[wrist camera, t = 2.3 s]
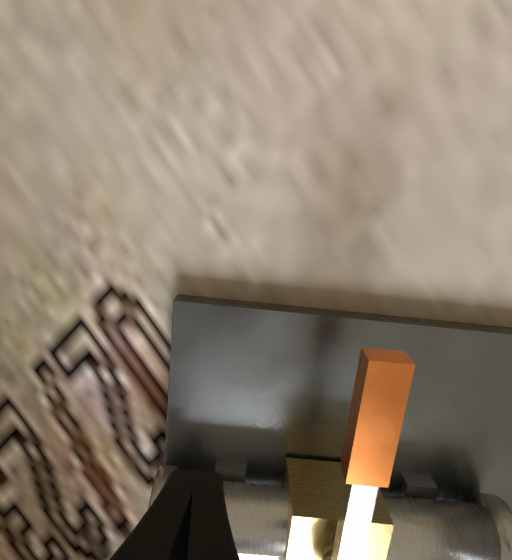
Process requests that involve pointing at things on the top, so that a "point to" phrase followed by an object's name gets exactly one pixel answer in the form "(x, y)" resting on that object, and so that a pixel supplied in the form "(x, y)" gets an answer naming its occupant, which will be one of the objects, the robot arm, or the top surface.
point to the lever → (370, 443)
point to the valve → (341, 428)
